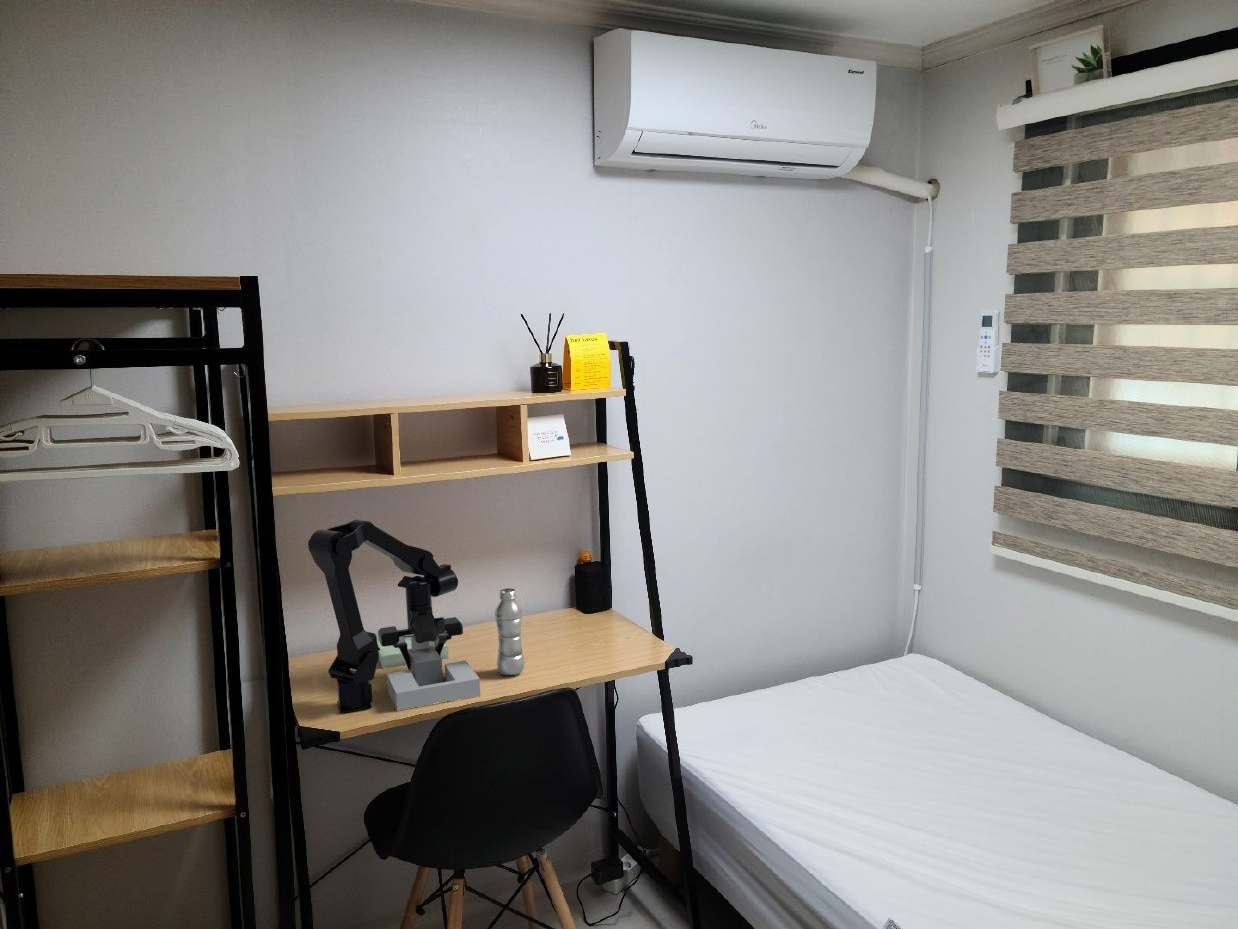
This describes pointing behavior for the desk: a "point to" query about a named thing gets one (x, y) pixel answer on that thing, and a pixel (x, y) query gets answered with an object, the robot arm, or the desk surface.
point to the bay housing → (433, 687)
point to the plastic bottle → (509, 634)
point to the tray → (400, 654)
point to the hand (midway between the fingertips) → (422, 666)
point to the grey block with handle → (425, 663)
